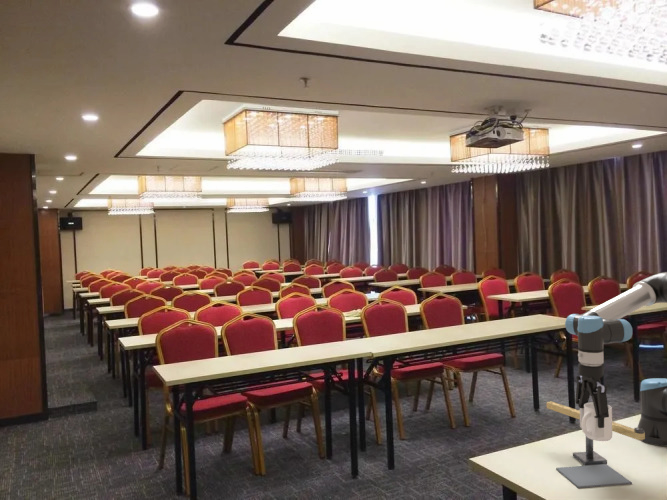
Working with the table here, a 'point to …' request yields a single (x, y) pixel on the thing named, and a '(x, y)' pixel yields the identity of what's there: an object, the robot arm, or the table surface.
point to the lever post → (589, 455)
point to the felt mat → (593, 476)
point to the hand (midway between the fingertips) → (591, 431)
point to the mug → (589, 423)
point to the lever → (621, 429)
